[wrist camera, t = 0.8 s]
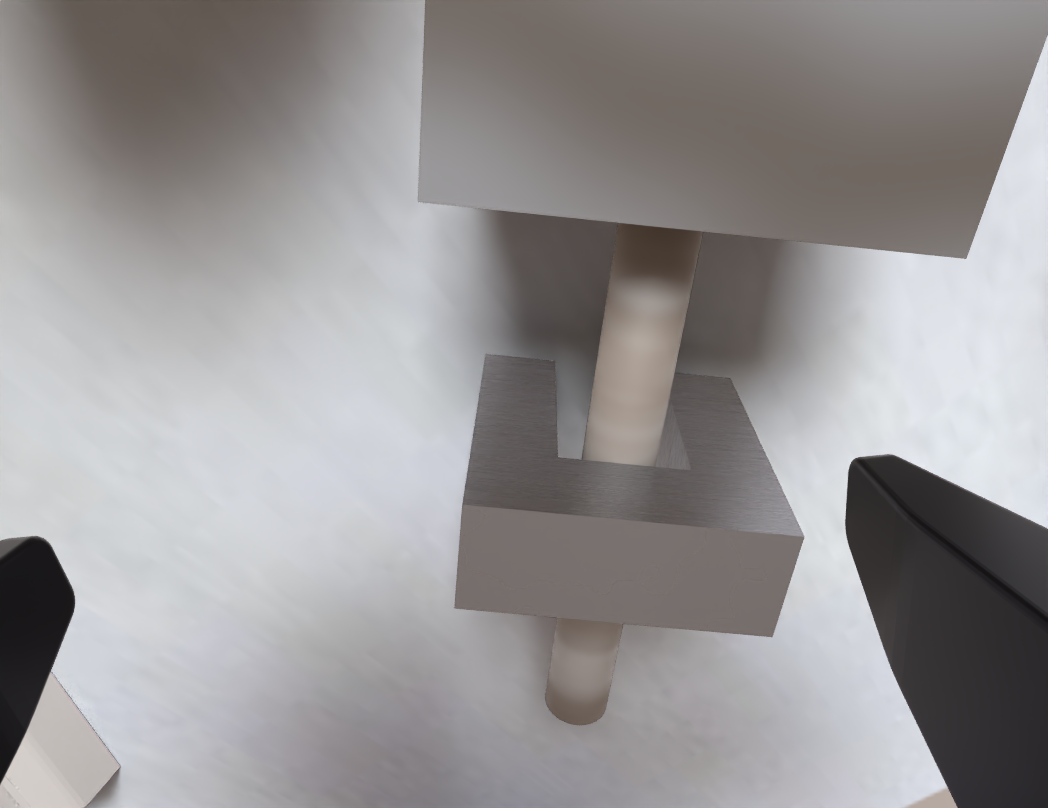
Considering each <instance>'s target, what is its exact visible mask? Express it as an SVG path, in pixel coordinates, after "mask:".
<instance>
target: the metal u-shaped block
mask: <svg viewBox="0 0 1048 808" xmlns="http://www.w3.org/2000/svg"><path fill="white" fill-rule="evenodd" d="M803 540H804V535H803V533H802V531H801V528H800V526H799V524H798V522H797V520H796V518H795V516H794V513H793V511H792V509H791V507H790V505H789V503H788V501H787V499H786V496H785V494H784V492H783V490H782V488H781V486H780V484H779V481H778V479H777V477H776V475H775V473H774V471H773V469H772V467H771V464H770V462H769V460H768V458H767V456H766V454H765V452H764V449H763V447H762V445H761V443H760V441H759V439H758V437H757V435H756V432H755V430H754V428H753V426H752V424H751V422H750V420H749V417H748V415H747V413H746V411H745V409H744V407H743V405H742V402H741V400H740V398H739V396H738V394H737V392H736V390H735V388H734V385H733V383H732V381H731V379H730V378H722V377H712V376H702V375H692V374H682V373H674V378H673V383H672V387H671V392H670V397H669V402H668V407H667V412H666V417H665V422H664V427H663V431H662V436H661V441H660V446H659V451H658V456H657V461H656V466H655V467H652V466H642V465H631V464H621V463H611V462H600V461H590V460H579V459H569V458H558V452H557V417H556V383H555V361H550V360H540V359H530V358H520V357H509V356H499V355H489V354H486V356H485V362H484V368H483V375H482V381H481V388H480V394H479V401H478V407H477V413H476V420H475V426H474V433H473V439H472V446H471V452H470V459H469V465H468V471H467V478H466V484H465V491H464V497H463V504H462V516H461V529H460V542H459V555H458V568H457V581H456V594H455V608H456V609H467V610H478V611H490V612H501V613H512V614H523V615H534V616H545V617H556V618H567V619H578V620H589V621H600V622H611V623H622V624H633V625H644V626H656V627H667V628H678V629H689V630H700V631H711V632H722V633H733V634H744V635H755V636H766V637H772V636H773V633H774V630H775V627H776V624H777V621H778V618H779V615H780V611H781V608H782V605H783V602H784V599H785V596H786V593H787V590H788V586H789V583H790V580H791V577H792V574H793V571H794V568H795V565H796V561H797V558H798V555H799V552H800V549H801V546H802V543H803Z"/></svg>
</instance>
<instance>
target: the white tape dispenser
mask: <svg viewBox="0 0 1048 808" xmlns="http://www.w3.org/2000/svg"><path fill="white" fill-rule="evenodd" d="M119 768H120V765H119V764H118V763H117V761H116V760H115V759H114V757H113V756H112V754H111V753H110V752H109V750H108V749H107V748H106V746H105V745H104V744H103V742H102V741H101V739H100V738H99V737H98V735H97V734H96V733H95V731H94V730H93V728H92V727H91V726H90V724H89V723H88V722H87V720H86V719H85V718H84V716H83V715H82V713H81V712H80V711H79V709H78V708H77V707H76V705H75V704H74V703H73V701H72V700H71V698H70V697H69V696H68V694H67V693H66V692H65V690H64V689H63V687H62V686H61V685H60V683H59V682H58V681H57V679H56V678H55V677H54V675H53V674H52V672H50V675H49V677H48V680H47V682H46V685H45V687H44V690H43V692H42V695H41V698H40V700H39V703H38V705H37V708H36V710H35V713H34V715H33V718H32V720H31V722H30V725H29V727H28V730H27V732H26V734H25V736H24V738H23V740H22V743H21V745H20V747H19V749H18V751H17V753H16V755H15V757H14V759H13V761H12V763H11V765H10V767H9V769H8V771H7V773H6V775H5V777H4V779H3V781H2V783H1V785H0V808H84V807H85V806H86V805H87V804H89V803H90V801H91V800H92V799H93V798H94V797H95V796H96V794H97V793H98V792H99V791H100V790H101V789H102V787H103V786H104V785H105V784H106V783H107V782H108V780H109V779H110V778H111V777H112V776H113V775H114V773H115V772H116V771H117V770H118V769H119Z"/></svg>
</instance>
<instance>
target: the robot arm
mask: <svg viewBox="0 0 1048 808" xmlns="http://www.w3.org/2000/svg"><path fill="white" fill-rule="evenodd" d="M845 526H846V535H847V540H848V544H849V547H850V550H851V553H852V556H853V559H854V562H855V565H856V568H857V571H858V574H859V577H860V580H861V583H862V586H863V589H864V591H865V594H866V597H867V600H868V603H869V606H870V609H871V612H872V615H873V618H874V621H875V624H876V627H877V630H878V633H879V636H880V639H881V641H882V644H883V647H884V650H885V653H886V656H887V658H888V661H889V664H890V666H891V669H892V671H893V674H894V676H895V678H896V680H897V682H898V685H899V687H900V689H901V691H902V693H903V696H904V698H905V700H906V702H907V704H908V706H909V708H910V710H911V712H912V714H913V716H914V718H915V720H916V722H917V725H918V727H919V729H920V731H921V733H922V735H923V737H924V739H925V741H926V743H927V745H928V747H929V749H930V752H931V754H932V756H933V758H934V760H935V762H936V764H937V766H938V768H939V770H940V772H941V774H942V776H943V779H944V781H945V783H946V785H947V787H948V789H949V791H950V793H951V795H952V797H953V799H954V801H955V803H956V806H957V807H958V808H1048V529H1047V528H1045V527H1043V526H1041V525H1039V524H1037V523H1035V522H1033V521H1031V520H1028V519H1026V518H1024V517H1022V516H1020V515H1018V514H1016V513H1014V512H1012V511H1010V510H1008V509H1006V508H1004V507H1001V506H999V505H997V504H995V503H993V502H991V501H989V500H987V499H985V498H983V497H981V496H979V495H976V494H974V493H972V492H970V491H968V490H966V489H964V488H962V487H960V486H958V485H956V484H954V483H952V482H949V481H947V480H945V479H943V478H941V477H939V476H937V475H935V474H933V473H931V472H929V471H927V470H924V469H922V468H920V467H918V466H916V465H914V464H912V463H910V462H908V461H906V460H904V459H902V458H900V457H897V456H895V455H890V454H886V455H876V456H866V457H858V458H855V459H854V460H853V461H852V462H851V464H850V467H849V472H848V487H847V503H846V519H845ZM74 608H75V595H74V591H73V588H72V586H71V584H70V582H69V580H68V578H67V576H66V574H65V572H64V570H63V568H62V566H61V564H60V562H59V560H58V558H57V556H56V554H55V552H54V550H53V548H52V546H51V545H50V543H49V542H47V541H46V540H45V539H44V538H41V537H38V536H30V537H20V538H9V539H5V540H2V541H0V785H1V783H2V781H3V779H4V777H5V775H6V773H7V771H8V769H9V767H10V765H11V763H12V761H13V759H14V757H15V755H16V753H17V751H18V749H19V747H20V745H21V743H22V740H23V738H24V736H25V734H26V732H27V730H28V727H29V725H30V722H31V720H32V718H33V715H34V713H35V710H36V708H37V705H38V703H39V700H40V698H41V695H42V692H43V690H44V687H45V685H46V682H47V680H48V677H49V675H50V672H51V669H52V667H53V664H54V662H55V659H56V657H57V654H58V652H59V649H60V646H61V644H62V641H63V639H64V636H65V634H66V631H67V628H68V626H69V623H70V621H71V618H72V616H73V613H74Z"/></svg>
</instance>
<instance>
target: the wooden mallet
mask: <svg viewBox="0 0 1048 808" xmlns="http://www.w3.org/2000/svg"><path fill="white" fill-rule="evenodd" d="M1047 35H1048V0H425V25H424V52H423V79H422V105H421V132H420V159H419V185H418V202H423V203H433V204H442V205H452V206H462V207H471V208H481V209H491V210H500V211H510V212H519V213H529V214H539V215H548V216H558V217H568V218H577V219H587V220H597V221H606V222H616V223H618V226H617V233H616V239H615V246H614V252H613V259H612V265H611V272H610V278H609V285H608V291H607V298H606V304H605V311H604V317H603V324H602V330H601V337H600V343H599V350H598V356H597V363H596V369H595V376H594V382H593V389H592V395H591V402H590V408H589V415H588V421H587V428H586V434H585V441H584V447H583V454H582V460H590V461H600V462H611V463H621V464H631V465H642V466H652V467H655V466H656V461H657V456H658V451H659V446H660V441H661V436H662V431H663V427H664V422H665V417H666V412H667V407H668V402H669V397H670V392H671V387H672V383H673V378H674V373H675V368H676V363H677V358H678V353H679V348H680V343H681V338H682V334H683V329H684V324H685V319H686V314H687V309H688V304H689V299H690V294H691V290H692V285H693V280H694V275H695V270H696V265H697V260H698V255H699V250H700V246H701V241H702V236H703V232H713V233H722V234H732V235H742V236H751V237H761V238H771V239H780V240H790V241H800V242H809V243H819V244H829V245H838V246H848V247H858V248H867V249H877V250H887V251H896V252H906V253H916V254H925V255H935V256H945V257H954V258H964V259H966V258H967V255H968V252H969V250H970V247H971V244H972V241H973V239H974V236H975V233H976V230H977V228H978V225H979V222H980V219H981V217H982V214H983V211H984V208H985V206H986V203H987V200H988V197H989V195H990V192H991V189H992V186H993V184H994V181H995V178H996V175H997V173H998V170H999V167H1000V164H1001V162H1002V159H1003V156H1004V153H1005V151H1006V148H1007V145H1008V142H1009V140H1010V137H1011V134H1012V131H1013V129H1014V126H1015V123H1016V120H1017V118H1018V115H1019V112H1020V109H1021V107H1022V104H1023V101H1024V98H1025V96H1026V93H1027V90H1028V87H1029V84H1030V82H1031V79H1032V76H1033V73H1034V71H1035V68H1036V65H1037V62H1038V60H1039V57H1040V54H1041V51H1042V49H1043V46H1044V43H1045V40H1046V38H1047ZM622 627H623V624H622V623H611V622H600V621H589V620H578V619H567V618H557V623H556V629H555V636H554V642H553V649H552V655H551V662H550V668H549V675H548V681H547V688H546V694H545V700H546V704H547V706H548V708H549V710H550V711H551V712H552V713H553V714H554V715H555V716H556V717H557V718H559V719H560V720H562V721H564V722H567V723H570V724H574V725H586V724H590V723H593V722H595V721H597V720H598V719H600V718H601V717H602V715H603V714H604V712H605V710H606V705H607V701H608V696H609V691H610V686H611V681H612V676H613V671H614V666H615V661H616V656H617V652H618V647H619V642H620V637H621V632H622Z"/></svg>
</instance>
